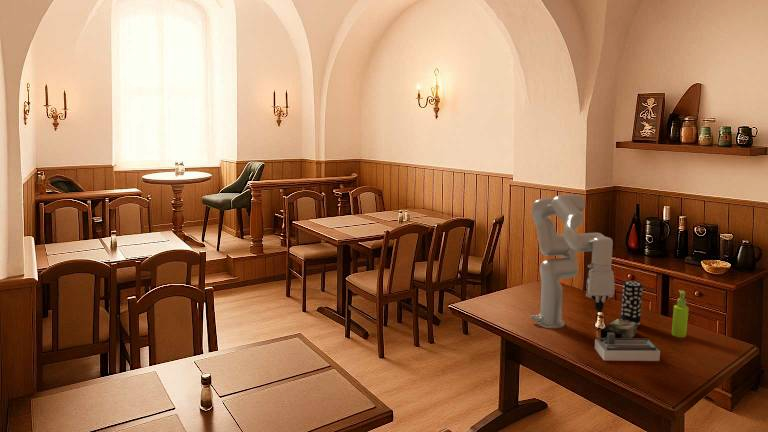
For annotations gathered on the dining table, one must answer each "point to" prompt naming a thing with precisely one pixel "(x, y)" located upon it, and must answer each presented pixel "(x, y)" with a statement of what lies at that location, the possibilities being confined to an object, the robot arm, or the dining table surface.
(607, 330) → the juice carton
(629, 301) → the spotted tube
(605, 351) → the box
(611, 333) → the handle
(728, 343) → the dining table surface
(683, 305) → the soap dispenser
